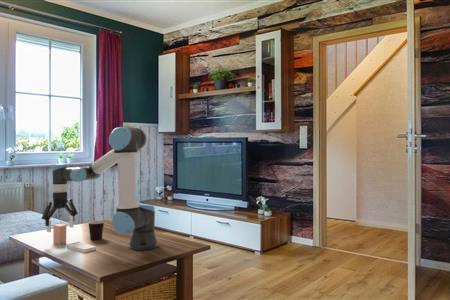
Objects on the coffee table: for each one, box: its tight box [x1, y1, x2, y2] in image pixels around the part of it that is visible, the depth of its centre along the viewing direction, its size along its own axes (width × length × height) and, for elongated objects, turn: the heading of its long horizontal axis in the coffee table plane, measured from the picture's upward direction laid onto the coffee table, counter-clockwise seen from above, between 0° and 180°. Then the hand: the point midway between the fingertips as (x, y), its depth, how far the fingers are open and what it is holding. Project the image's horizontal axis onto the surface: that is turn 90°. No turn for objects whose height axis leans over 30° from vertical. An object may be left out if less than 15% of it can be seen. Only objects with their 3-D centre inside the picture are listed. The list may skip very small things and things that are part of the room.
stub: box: [52, 223, 67, 246], centre depth 206 cm, size 6×4×10 cm, turn 56°
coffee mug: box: [88, 220, 105, 241], centre depth 217 cm, size 12×9×10 cm
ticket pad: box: [67, 241, 97, 254], centre depth 195 cm, size 14×7×2 cm, turn 56°
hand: (60, 229), depth 206 cm, fingers open, 13 cm apart
